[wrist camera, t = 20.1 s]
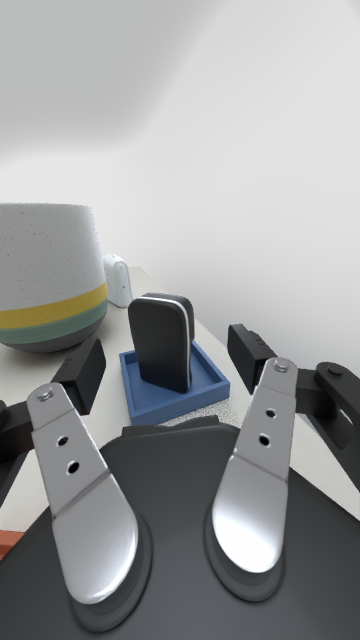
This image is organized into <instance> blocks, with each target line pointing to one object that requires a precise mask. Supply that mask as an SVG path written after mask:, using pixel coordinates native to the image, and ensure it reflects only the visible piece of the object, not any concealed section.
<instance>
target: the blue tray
mask: <svg viewBox="0 0 360 640" xmlns="http://www.w3.org/2000/svg"><path fill="white" fill-rule="evenodd" d="M119 357H120V363H121V368H122V374H123V380H124V386H125V391H126V397H127V403H128V409H129V414H130V419H131V423H132V426H136V425H144V424H150V425H157V424H159V423H162V422H165V421H167V420H170V419H173V418H175V417H178V416H181V415H183V414H186V413H189V412H191V411H194V410H197V409H199V408H202V407H205V406H207V405H210V404H213V403H215V402H218V401H221V400H223V399H226V398H229V391H230V382H229V381H228V380H227V379H226V377H225V376H224V375H223V374H222V373H221V372H220V370H219V369H218V368H217V367H216V366H215V365H214V363H213V362H212V361H211V360H210V359H209V357H208V356H207V355H206V354H205V353H204V352H203V350H202V349H201V348H200V347H199V346H198V344H197V343H196V342H195V341H194V340H193V341H192V343H191V361H190V366H191V373H192V382H191V385H190V388H189V390H188V391H187V392H186V393H182V392H179V391H175V390H172V389H169V388H165V387H162V386H159V385H156V384H153V383H150V382H148V381H145V380H142V379H141V378H140V371H139V366H138V360H137V356H136V352H135V350H133V351H129V352H125V353H121V354H119Z"/></svg>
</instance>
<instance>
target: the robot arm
mask: <svg viewBox="0 0 360 640" xmlns="http://www.w3.org/2000/svg"><path fill="white" fill-rule="evenodd" d="M227 346H228V347H227V348H228V353H229V356H230V358H231V360H232V362H233V363H234V365H235V367H236V369H237V371H238V373H239V375H240V376H241V378H242V380H243V382H244V384H245V386H246V388H247V390H248V391H249V393H250V395H253V396H252V399H251V402H250V405H249V407H248V410H247V413H246V416H245V419H244V422H243V425H242V427H241V429H239V428H237V427H235V426H232V425H229V424H225V423H220V422H219V419H218V416H217V415H212V416H205V417H197V418H193V419H190V420H188V421H185V422H183V423H180V424H177V425H175V426H172V427H167V426H159V425H150V424H144V425H136V426H128V427H123V430H122V436H120V437H117V438H115V439H113V440H112V441H110V442H108V443H107V444H106V445H104V446H103V447H102V448H101V449H99V450H98V448H97V446H96V445H95V443H94V441H93V439H92V437H91V436H90V434H89V432H88V430H87V428H86V426H85V425H84V423H83V421H82V419H81V417H80V416H83V415H89V414H90V411H91V408H92V405H93V402H94V400H95V397H96V394H97V391H98V388H99V385H100V383H101V380H102V377H103V374H104V371H105V368H106V359H105V355H104V352H103V348H102V345H101V342H100V339H99V338H93V339H85V340H84V341H83V343H82V345H81V346H80V348H76V349H75V350H74V351H72V352H71V353H70V354H69V355H68V357H67V358H66V360H65V361H64V363H63V364H62V366H61V367H60V369H59V370H58V372H57V373H56V375H55V376H54V378H53V379H52V381H51V382H50V383H48V384H45V385H43V386H40V387H39V388H37V389H36V390H34V391H33V392H32V393H31V394H30V395H29V396H28V398H27V401H24V402H21V403H18V404H15V405H12V406H9V407H7V406H6V404H5V403H4V401H2V400H0V508H1V506H2V504H3V502H4V500H5V498H6V496H7V494H8V492H9V490H10V488H11V486H12V484H13V482H14V480H15V478H16V476H17V474H18V472H19V470H20V468H21V466H22V464H23V462H24V460H25V458H26V456H27V454H28V452H29V451H30V450H32V449H35V451H36V454H37V458H38V462H39V466H40V470H41V474H42V478H43V482H44V486H45V490H46V493H47V497H48V501H49V506H48V507H47V508H46V509H45V511H44V512H43V513H42V514H41V515H40V516H39V517H38V518H37V520H36V521H35V522H34V523H33V524H32V525H31V526H30V527H29V529H28V530H27V531H26V532H25V533H24V534H23V535H22V536H21V538H20V539H19V540H18V541H17V542H16V543H15V544H14V545H13V547H12V548H11V549H10V550H9V551H8V552H7V553H6V554H5V556H4V557H3V558H2V559H1V560H0V640H360V521H359V520H358V519H357V518H355V517H354V516H353V515H351V514H350V513H349V512H348V511H346V510H345V509H344V508H342V507H341V506H340V505H338V504H337V503H336V502H335V501H333V500H332V499H331V498H329V497H328V496H327V495H326V494H324V493H323V492H322V491H320V490H319V489H318V488H317V487H315V486H314V485H313V484H311V483H310V482H309V481H308V480H306V479H305V478H304V477H302V476H301V475H300V474H299V473H297V472H296V471H295V470H293V469H292V468H291V467H290V466H289V464H290V454H291V445H292V436H293V427H294V418H295V413H301V414H306V416H307V417H308V419H309V420H310V422H311V423H312V425H313V426H314V427H315V429H316V430H317V432H318V433H319V435H320V436H321V438H322V439H323V440H324V442H325V443H326V445H327V446H328V448H329V449H330V450H331V452H332V453H333V455H334V456H335V458H336V459H337V461H338V462H339V463H340V465H341V466H342V468H343V469H344V471H345V472H346V474H347V475H348V476H349V478H350V479H351V481H352V482H353V484H354V485H355V487H356V488H357V489H358V491H359V492H360V379H359V378H358V377H357V376H355V375H354V374H353V373H352V372H351V371H349V370H348V369H347V368H345V367H343V366H341V365H338V364H335V363H331V362H321V363H319V364H318V365H317V366H316V370H307V369H299V368H297V366H296V365H295V364H294V363H293V362H291V361H290V360H287V359H285V358H279V357H278V356H277V355H276V354H275V353H274V352H273V351H272V350H271V349H270V348H269V346H268V345H266V343H265V342H264V341H263V340H262V339H261V337H260V336H259V335H258V334H256V333H254V332H253V331H248V330H247V329H246V328H245V327H244V326H243V324H235V325H230V326H229V329H228V344H227ZM341 409H342V410H343V411H344V413H345V414H346V415H347V416H348V417H349V418H350V420H351V421H352V423H353V425H352V424H351V423H350V422H349V421H348V419H347V418H346V417H345V416H344V415H343V414H342V413H341V411H340V410H341Z"/></svg>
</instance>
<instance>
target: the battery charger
mask: <svg viewBox="0 0 360 640" xmlns="http://www.w3.org/2000/svg"><path fill="white" fill-rule="evenodd" d="M128 317H129V323H130V329H131V334H132V339H133V344H134V348H135V352H136V356H137V360H138V366H139V371H140V378H141V379H142V380H145V381H148V382H150V383H153V384H156V385H159V386H162V387H165V388H169V389H172V390H175V391H179V392H182V393H186V392H187V391H188V390H189V388H190V385H191V382H192V373H191V366H190V361H191V343H192V341H193V340H194V313H193V307H192V304H191V302H190V301H189V300H188V299H187V298H185V297H182V296H178V295H170V294H162V293H147V294H144V295H142V296H141V297H137V298H135V299H134V300H132V302H131V303H130V304H129V307H128Z"/></svg>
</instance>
